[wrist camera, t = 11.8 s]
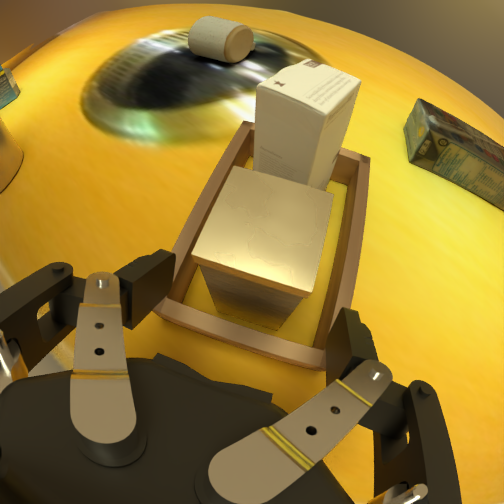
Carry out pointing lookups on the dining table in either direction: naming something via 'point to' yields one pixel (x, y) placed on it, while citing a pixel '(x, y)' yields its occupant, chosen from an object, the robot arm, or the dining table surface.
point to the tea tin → (262, 246)
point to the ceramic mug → (220, 39)
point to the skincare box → (303, 122)
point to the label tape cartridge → (7, 87)
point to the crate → (342, 277)
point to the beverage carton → (455, 151)
